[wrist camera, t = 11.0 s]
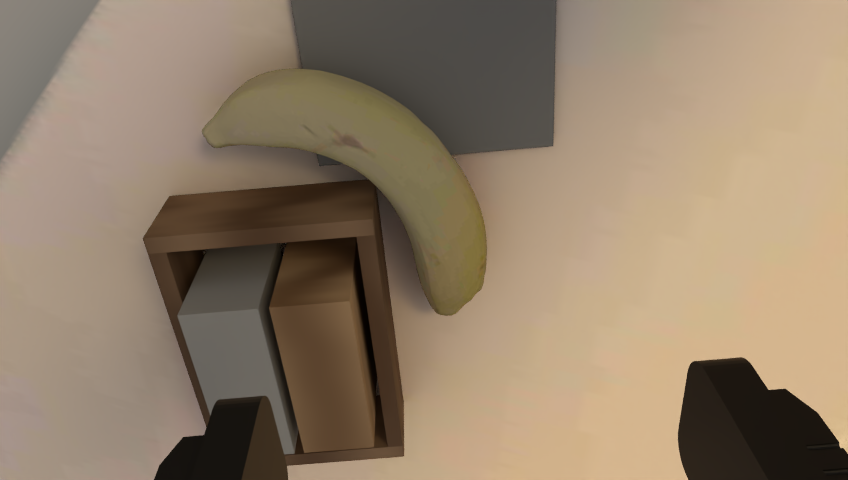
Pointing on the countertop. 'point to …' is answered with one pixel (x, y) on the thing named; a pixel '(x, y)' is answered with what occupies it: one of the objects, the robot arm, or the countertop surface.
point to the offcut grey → (238, 331)
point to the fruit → (371, 165)
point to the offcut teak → (326, 343)
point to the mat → (444, 63)
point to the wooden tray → (279, 223)
